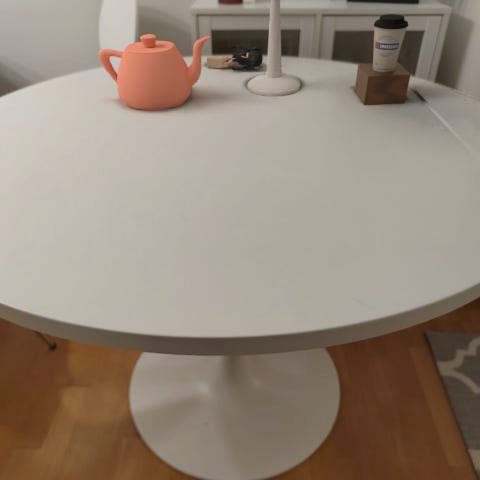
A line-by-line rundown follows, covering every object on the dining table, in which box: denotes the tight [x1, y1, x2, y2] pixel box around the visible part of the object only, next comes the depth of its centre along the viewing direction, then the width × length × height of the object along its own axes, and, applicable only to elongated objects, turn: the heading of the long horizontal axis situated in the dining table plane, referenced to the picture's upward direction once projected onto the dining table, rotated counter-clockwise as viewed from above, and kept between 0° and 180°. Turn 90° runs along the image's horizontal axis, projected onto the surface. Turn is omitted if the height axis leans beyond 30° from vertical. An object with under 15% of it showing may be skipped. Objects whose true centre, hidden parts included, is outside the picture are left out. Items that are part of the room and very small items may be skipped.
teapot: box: [98, 33, 211, 111], centre depth 102 cm, size 25×17×13 cm
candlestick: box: [247, 0, 301, 97], centre depth 101 cm, size 13×13×30 cm
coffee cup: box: [372, 13, 409, 72], centre depth 96 cm, size 7×7×10 cm
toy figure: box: [206, 43, 264, 72], centre depth 121 cm, size 7×6×15 cm
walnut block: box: [354, 61, 411, 106], centre depth 102 cm, size 9×9×6 cm
